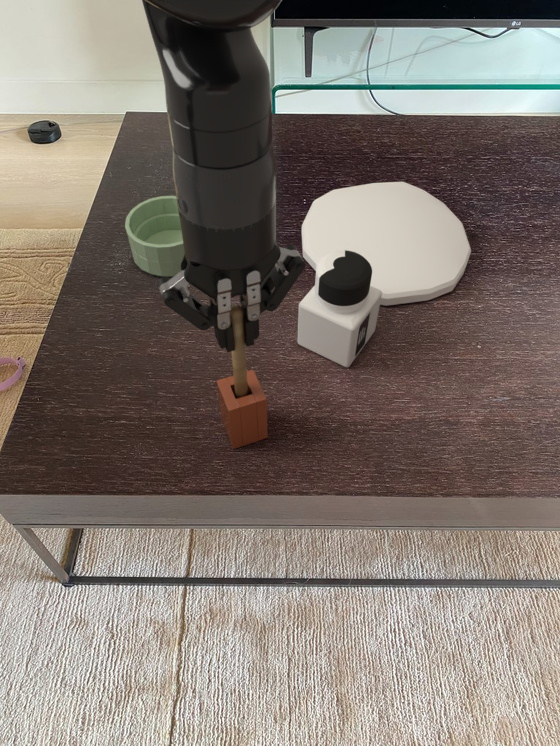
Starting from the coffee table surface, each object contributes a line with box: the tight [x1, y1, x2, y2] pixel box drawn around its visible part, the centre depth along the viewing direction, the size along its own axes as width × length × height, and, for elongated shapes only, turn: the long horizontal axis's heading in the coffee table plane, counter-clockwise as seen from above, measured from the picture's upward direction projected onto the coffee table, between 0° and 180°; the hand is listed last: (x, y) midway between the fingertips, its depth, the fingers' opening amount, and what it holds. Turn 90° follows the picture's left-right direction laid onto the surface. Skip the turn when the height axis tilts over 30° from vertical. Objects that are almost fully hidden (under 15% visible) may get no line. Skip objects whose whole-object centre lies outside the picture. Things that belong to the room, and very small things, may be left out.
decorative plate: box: [300, 181, 472, 307], centre depth 91 cm, size 25×4×25 cm
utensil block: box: [216, 369, 269, 450], centre depth 70 cm, size 4×4×8 cm
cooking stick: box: [230, 304, 248, 399], centre depth 64 cm, size 1×1×17 cm
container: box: [296, 250, 382, 368], centre depth 77 cm, size 8×8×13 cm
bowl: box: [124, 195, 184, 278], centre depth 90 cm, size 11×11×6 cm
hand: (237, 342), depth 61 cm, fingers closed on cooking stick, 1 cm apart
